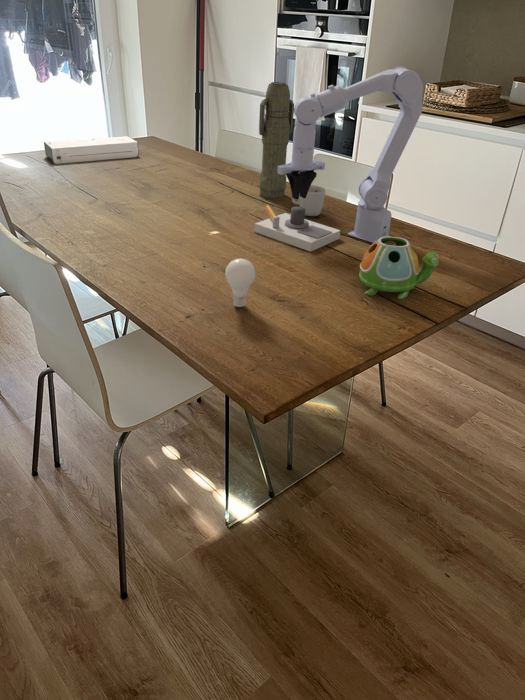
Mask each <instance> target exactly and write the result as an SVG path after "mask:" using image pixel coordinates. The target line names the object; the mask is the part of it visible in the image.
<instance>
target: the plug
mask: <svg viewBox="0 0 525 700" xmlns="http://www.w3.org/2000/svg"><path fill="white" fill-rule="evenodd" d="M290 215H291V216H290V219H288V220H286V221H285V225H286V226H287V227H290V228H294V229H298V230H299V229H304V228H306V227H308V226H309V222H308V221H306V220H307V219H306V220H304V219H305V217H306V215H305V208H303V207H300V206H292V207H290Z"/></svg>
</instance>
